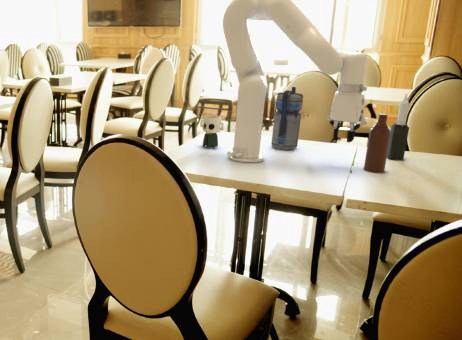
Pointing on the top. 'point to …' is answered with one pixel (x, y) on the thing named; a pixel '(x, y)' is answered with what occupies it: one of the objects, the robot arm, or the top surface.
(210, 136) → the toy figurine
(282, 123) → the beverage bottle
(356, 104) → the robot arm
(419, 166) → the top surface
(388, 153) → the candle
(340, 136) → the cap
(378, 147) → the sauce bottle
